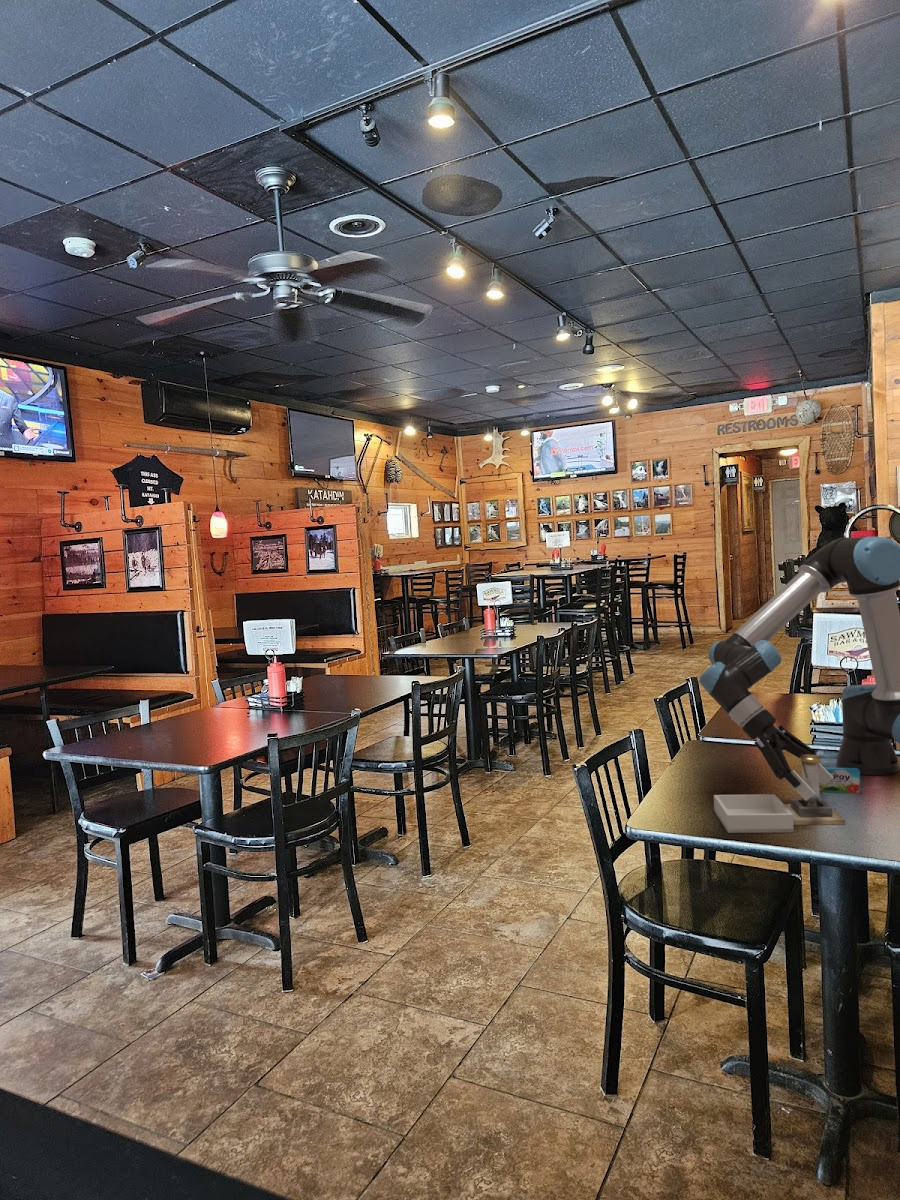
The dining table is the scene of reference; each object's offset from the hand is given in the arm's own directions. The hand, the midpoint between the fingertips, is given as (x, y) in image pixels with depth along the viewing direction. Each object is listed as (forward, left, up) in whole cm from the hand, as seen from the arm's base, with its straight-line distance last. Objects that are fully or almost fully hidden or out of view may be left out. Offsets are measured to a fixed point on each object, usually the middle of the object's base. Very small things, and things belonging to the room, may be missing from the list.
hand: (820, 789), depth 179 cm
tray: (+16, +2, -7) cm, 17 cm away
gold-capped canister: (+2, -1, -6) cm, 6 cm away
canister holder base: (+2, -1, -7) cm, 7 cm away
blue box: (-9, -18, -7) cm, 22 cm away
